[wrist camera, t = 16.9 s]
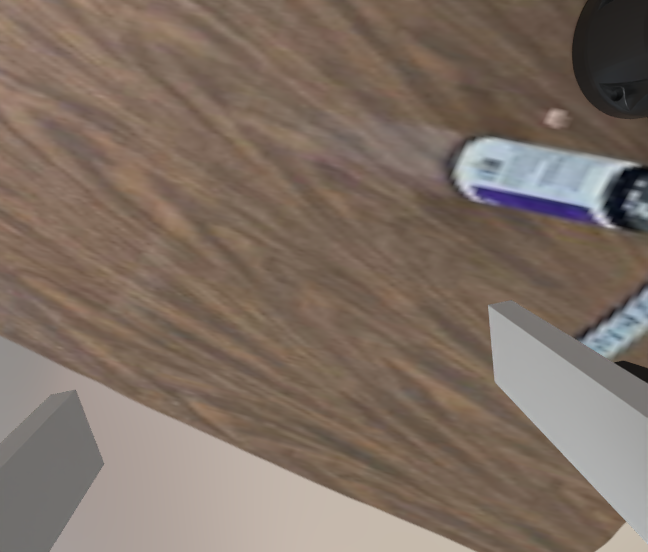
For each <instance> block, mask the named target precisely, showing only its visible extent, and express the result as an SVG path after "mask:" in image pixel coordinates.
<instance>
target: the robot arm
mask: <svg viewBox="0 0 648 552" xmlns="http://www.w3.org/2000/svg"><path fill="white" fill-rule="evenodd" d="M573 66H574V72H575V76H576V79H577V82H578V84H579V86H580V88H581V90H582V92H583V94H584V95H585V97H586V98H587V99H588V100H589V101H590V102H591V103H592V104H593V105H594V106H595V107H596V108H597V109H599V110H600V111H602V112H604V113H606V114H608V115H610V116H613V117H617V118H623V119H636V118H643V117H648V0H588V2H587V3H586V5H585V7H584V9H583V11H582V13H581V15H580V18H579V20H578V23H577V26H576V30H575V34H574V40H573ZM488 310H489V321H490V332H491V344H492V355H493V366H494V378H495V383H496V384H497V385H498V386H499V387H500V388H501V389H502V390H503V391H504V392H505V393H506V394H507V395H508V396H509V397H510V398H511V400H512V401H513V402H514V403H515V404H516V405H517V406H518V407H519V408H520V409H521V410H522V411H523V412H524V413H525V414H526V415H527V416H528V418H529V419H530V420H531V421H532V422H533V423H534V424H535V425H536V426H537V427H538V428H539V429H540V430H541V431H542V432H543V433H544V435H545V436H546V437H547V438H548V439H549V440H550V441H551V442H552V443H553V444H554V445H555V446H556V447H557V448H558V449H559V450H560V452H561V453H562V454H563V455H564V456H565V457H566V458H567V459H568V460H569V461H570V462H571V463H572V464H573V465H574V466H575V467H576V469H577V470H578V471H579V472H580V473H581V474H582V475H583V476H584V477H585V478H586V479H587V480H588V481H589V482H590V483H591V484H592V486H593V487H594V488H595V489H596V490H597V491H598V492H599V493H600V494H601V495H602V496H603V497H604V498H605V499H606V500H607V501H608V502H609V504H610V505H611V506H612V507H613V508H614V509H615V510H616V511H617V512H618V513H619V514H620V515H621V516H622V517H623V518H624V519H625V521H626V522H627V523H628V524H629V525H630V526H631V527H632V528H633V529H634V530H635V531H636V532H637V533H638V534H639V535H640V536H641V538H642V539H643V540H644V541H645V542H646V543H647V544H648V368H645V367H642V366H639V365H636V364H633V363H630V362H626V361H619V362H614V363H613V362H612V361H610V360H608V359H607V358H605V357H603V356H602V355H600V354H599V353H597V352H595V351H594V350H592V349H590V348H589V347H587V346H585V345H584V344H582V343H581V342H579V341H577V340H576V339H574V338H572V337H571V336H569V335H567V334H566V333H564V332H563V331H561V330H559V329H558V328H556V327H554V326H553V325H551V324H549V323H548V322H546V321H545V320H543V319H541V318H540V317H538V316H536V315H535V314H533V313H532V312H530V311H528V310H527V309H525V308H523V307H522V306H520V305H518V304H517V303H515V302H514V301H512V300H510V301H506V302H501V303H496V304H491V305H488ZM103 465H104V462H103V460H102V457H101V455H100V452H99V449H98V446H97V444H96V441H95V439H94V436H93V433H92V431H91V428H90V426H89V423H88V421H87V418H86V415H85V413H84V410H83V407H82V405H81V403H80V400H79V397H78V395H77V392H76V390H72V391H67V392H62V393H57V394H52V395H50V396H49V397H48V398H47V399H46V400H45V401H44V402H43V403H42V404H41V405H40V406H39V407H38V408H37V409H36V410H34V411H33V412H32V413H31V414H30V415H29V416H28V417H27V418H26V419H25V420H24V421H23V422H22V423H21V424H20V425H19V426H18V427H17V428H16V429H15V430H14V431H12V432H11V433H10V434H9V435H8V436H7V437H6V438H5V439H4V440H3V441H2V442H1V443H0V552H49V551H50V550H51V548H52V546H53V545H54V543H55V542H56V540H57V539H58V537H59V535H60V534H61V532H62V531H63V529H64V527H65V526H66V524H67V522H68V521H69V519H70V518H71V516H72V515H73V513H74V511H75V510H76V508H77V506H78V505H79V503H80V502H81V500H82V499H83V497H84V495H85V494H86V492H87V490H88V489H89V487H90V486H91V484H92V483H93V481H94V479H95V478H96V476H97V474H98V473H99V471H100V470H101V468H102V466H103Z"/></svg>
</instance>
